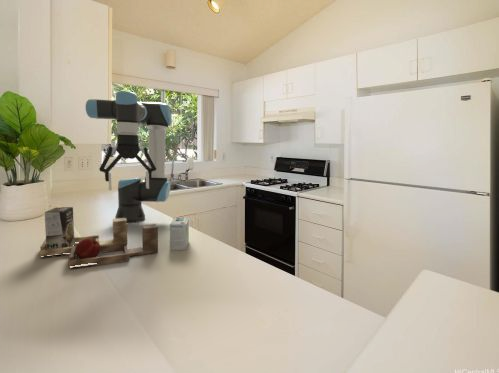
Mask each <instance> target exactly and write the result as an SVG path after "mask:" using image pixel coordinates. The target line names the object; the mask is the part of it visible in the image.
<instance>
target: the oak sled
mask: <svg viewBox="0 0 499 373" xmlns="http://www.w3.org/2000/svg"><path fill="white" fill-rule="evenodd" d="M112 231H113V232H112V234H113V235H112V237H113V239H109V240H108V239H107V240H100V236H99V234H96V235H94V234H93V235H86V236H85V235H84V236H74V240H75V242H81V241H82V240H84V239H87V238H91V239H94V240H96V241H97V242H98V243H99V244H100V245H107V244H116V243H125V242H126V243H127V244H128V223H127V219H126V218H116V219H115V218H113V219H112ZM71 250H72V247H66V248H57V249H48V250H47V249H46V238H45V239H44V241H43V242H42V244H41V246H40V251H39V257H40V256H47V255H55V254H63V253H71Z"/></svg>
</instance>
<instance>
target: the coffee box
mask: <svg viewBox="0 0 499 373" xmlns="http://www.w3.org/2000/svg"><path fill="white" fill-rule="evenodd" d="M74 220H75V219H74V206H66V207H64V206H61V207H54V208H52V209H49V210H47V211H44V224H45V229H44V230H45V239H46V249H47V250H48V249H57V248H66V247H72V246H73V245H74V244H75V240H74V237H75V226H74V225H75V224H74V223H75V222H74ZM75 245H76V244H75Z"/></svg>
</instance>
